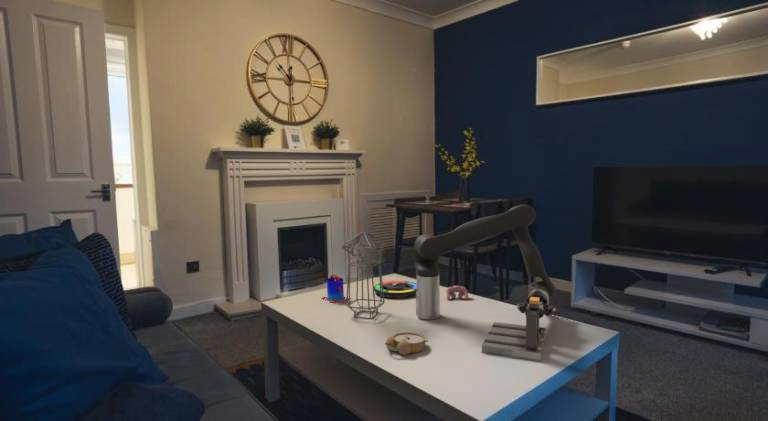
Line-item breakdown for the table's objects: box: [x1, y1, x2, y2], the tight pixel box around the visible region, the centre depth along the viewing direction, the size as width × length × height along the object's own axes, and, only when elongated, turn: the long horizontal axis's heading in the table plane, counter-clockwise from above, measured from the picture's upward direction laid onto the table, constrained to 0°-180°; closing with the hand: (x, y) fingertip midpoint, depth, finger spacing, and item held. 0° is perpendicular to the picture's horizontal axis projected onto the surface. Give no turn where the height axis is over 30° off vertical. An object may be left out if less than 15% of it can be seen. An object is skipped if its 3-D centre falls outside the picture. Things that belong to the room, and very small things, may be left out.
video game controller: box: [445, 285, 469, 301], centre depth 199 cm, size 10×5×7 cm, turn 86°
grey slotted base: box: [481, 304, 547, 362], centre depth 146 cm, size 18×23×14 cm
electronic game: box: [374, 280, 417, 299], centre depth 212 cm, size 23×23×5 cm
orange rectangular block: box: [529, 297, 540, 305], centre depth 150 cm, size 3×4×11 cm
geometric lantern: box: [340, 231, 388, 320], centre depth 179 cm, size 16×16×35 cm
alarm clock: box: [384, 332, 428, 356], centre depth 144 cm, size 11×5×15 cm
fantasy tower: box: [320, 274, 352, 305], centre depth 203 cm, size 12×12×12 cm
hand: (533, 315), depth 148 cm, fingers closed on orange rectangular block, 3 cm apart
